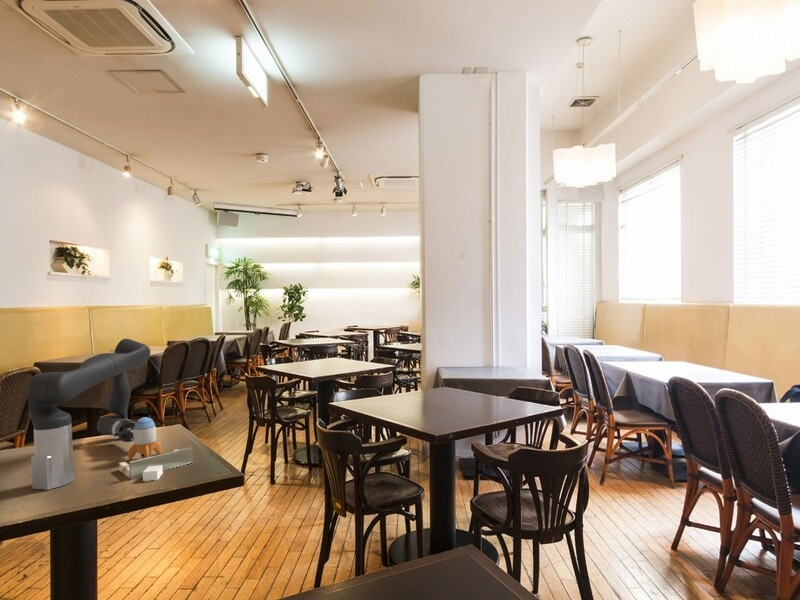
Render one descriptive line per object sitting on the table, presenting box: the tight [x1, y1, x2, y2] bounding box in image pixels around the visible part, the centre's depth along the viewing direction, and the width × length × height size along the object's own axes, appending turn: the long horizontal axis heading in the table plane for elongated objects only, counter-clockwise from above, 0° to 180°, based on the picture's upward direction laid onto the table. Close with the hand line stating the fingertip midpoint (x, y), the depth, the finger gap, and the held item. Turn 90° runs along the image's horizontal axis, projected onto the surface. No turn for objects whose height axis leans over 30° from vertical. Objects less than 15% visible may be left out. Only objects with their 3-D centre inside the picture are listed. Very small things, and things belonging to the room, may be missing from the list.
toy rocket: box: [127, 416, 162, 461], centre depth 165 cm, size 10×11×15 cm
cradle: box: [118, 446, 194, 480], centre depth 156 cm, size 13×18×5 cm
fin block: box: [142, 465, 164, 482], centre depth 146 cm, size 5×4×3 cm
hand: (141, 436), depth 168 cm, fingers closed
